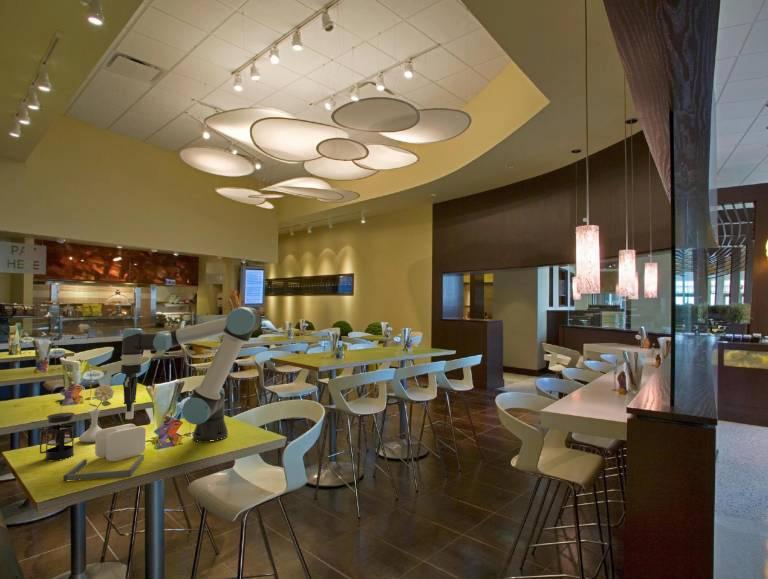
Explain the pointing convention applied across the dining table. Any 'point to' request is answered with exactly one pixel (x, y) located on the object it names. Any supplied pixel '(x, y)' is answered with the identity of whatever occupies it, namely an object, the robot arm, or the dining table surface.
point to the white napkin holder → (120, 442)
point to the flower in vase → (97, 412)
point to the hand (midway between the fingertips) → (129, 418)
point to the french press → (59, 436)
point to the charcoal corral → (106, 474)
